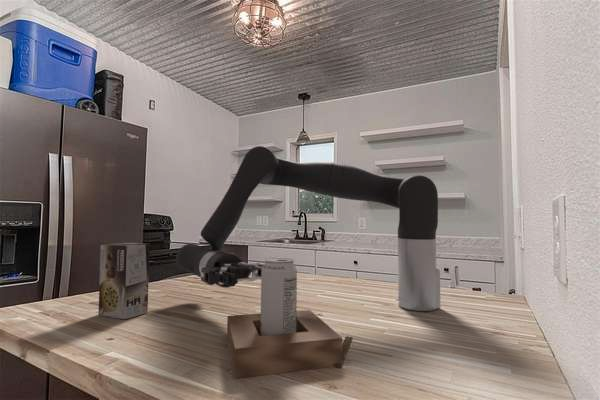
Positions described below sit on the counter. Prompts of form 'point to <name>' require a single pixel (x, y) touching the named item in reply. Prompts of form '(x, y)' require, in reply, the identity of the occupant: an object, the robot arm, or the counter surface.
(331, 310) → the counter surface
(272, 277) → the energy drink can
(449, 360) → the counter surface
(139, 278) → the coffee box
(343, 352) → the brown wooden stick
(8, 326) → the counter surface
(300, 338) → the socket block
